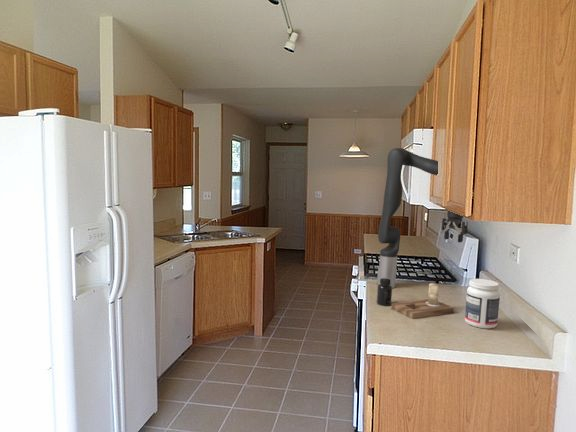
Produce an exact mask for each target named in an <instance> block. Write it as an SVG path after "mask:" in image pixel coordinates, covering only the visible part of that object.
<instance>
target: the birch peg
mask: <svg viewBox="0 0 576 432" xmlns="http://www.w3.org/2000/svg"><path fill="white" fill-rule="evenodd" d="M439 292H440V284H438V283H433V282H432V283H429V284H428V294H427V295H428V296H427V299H428V304H430V305H438V301H439V295H440V294H439Z"/></svg>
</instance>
